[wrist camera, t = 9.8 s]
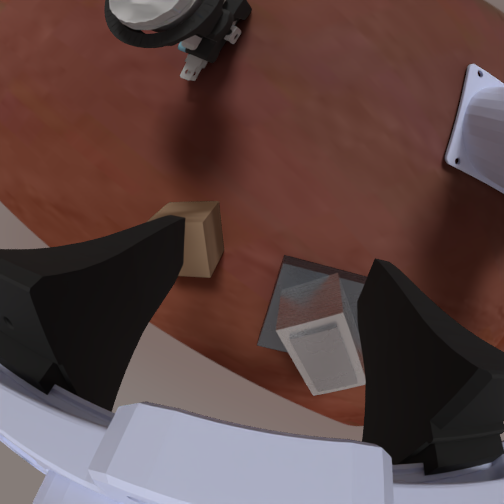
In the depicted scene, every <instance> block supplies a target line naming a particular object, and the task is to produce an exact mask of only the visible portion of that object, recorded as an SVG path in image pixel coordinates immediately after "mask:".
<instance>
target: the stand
mask: <svg viewBox="0 0 504 504" xmlns="http://www.w3.org/2000/svg"><path fill="white" fill-rule="evenodd" d="M335 273H338V274H339V277H340V280H341V283H342V285H343V288H344V291H345V294H346V297H347V300H348V303H349V306H350V309H351V312H352V315H353V318H354V321H355V324H356V327H357V330H358V333H359V329H358V320H357V300H358V298H359V296H360V294H361V291H362V289H363V287H364V284H365V282H366V279H367V277H366V276H362V275H358V274H355V273H351V272H347V271H343V270H339V269H336V268H332V267H328V266H324V265H320V264H317V263H313V262H309V261H305V260H301V259H297V258H294V257H290V256H286V255H284V258H283V261H282V264H281V268H280V271H279V274H278V278H277V281H276V284H275V287H274V291H273V294H272V297H271V300H270V303H269V307H268V310H267V313H266V316H265V319H264V322H263V326H262V329H261V332H260V335H259V339H258V344H257V345H258V346H262V347H266V348H271V349H275V350H279V351H283V352H288V351H287V350H286V348H285V346H284V344H283V343H282V341H281V339H280V337H279V336H278V334H277V332H276V325H277V318H278V311H279V304H280V297H281V290H283V289H287V288H290V287H293V286H297V285H300V284H303V283H306V282H310V281H313V280H316V279H319V278H323V277H326V276H329V275H332V274H335Z"/></svg>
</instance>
